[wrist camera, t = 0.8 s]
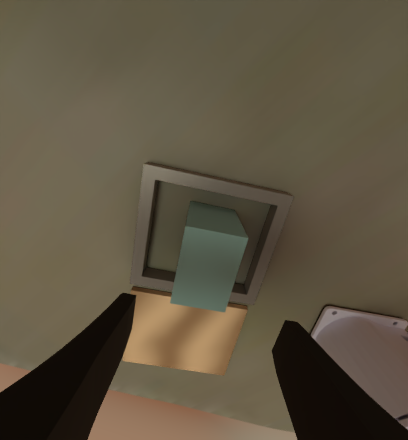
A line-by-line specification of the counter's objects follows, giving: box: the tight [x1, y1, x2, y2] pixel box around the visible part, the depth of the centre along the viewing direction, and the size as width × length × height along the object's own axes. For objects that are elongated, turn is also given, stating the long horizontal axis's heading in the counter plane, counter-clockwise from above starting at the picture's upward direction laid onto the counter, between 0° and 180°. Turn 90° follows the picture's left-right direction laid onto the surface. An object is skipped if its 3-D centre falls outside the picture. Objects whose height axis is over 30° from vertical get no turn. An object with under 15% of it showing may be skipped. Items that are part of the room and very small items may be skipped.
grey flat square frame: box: [130, 162, 294, 305], centre depth 19 cm, size 12×11×2 cm
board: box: [123, 286, 248, 375], centre depth 23 cm, size 12×10×1 cm
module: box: [170, 201, 248, 312], centre depth 17 cm, size 4×6×6 cm, turn 168°
